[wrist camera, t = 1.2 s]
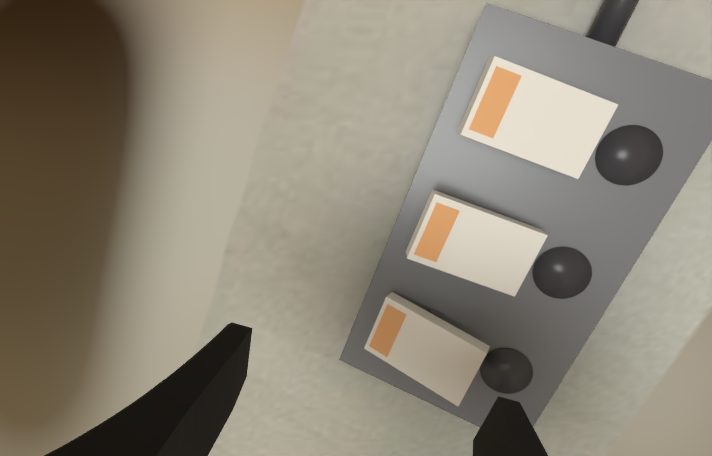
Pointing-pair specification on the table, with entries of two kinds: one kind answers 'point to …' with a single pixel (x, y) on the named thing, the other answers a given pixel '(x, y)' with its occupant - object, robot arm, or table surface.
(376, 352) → the white rectangular block
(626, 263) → the power strip
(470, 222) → the rocker
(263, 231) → the table surface
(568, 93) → the rocker
